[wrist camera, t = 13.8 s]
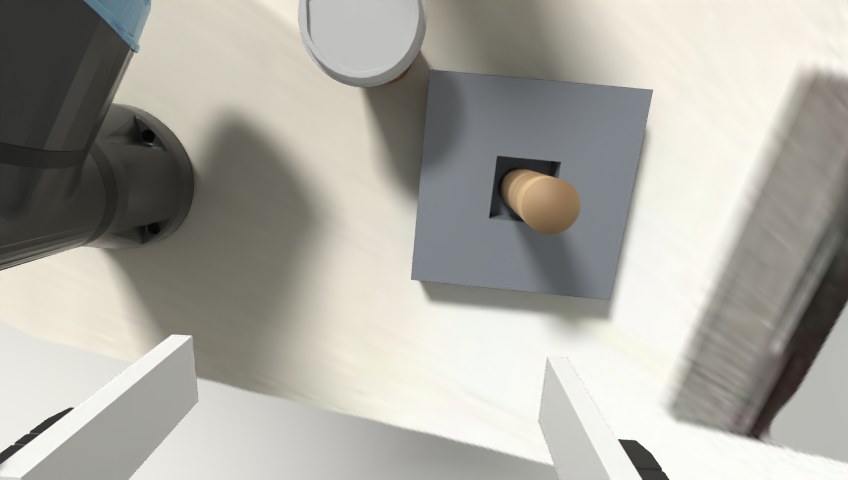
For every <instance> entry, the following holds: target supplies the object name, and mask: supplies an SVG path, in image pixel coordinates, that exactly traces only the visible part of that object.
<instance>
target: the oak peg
mask: <svg viewBox="0 0 848 480" xmlns="http://www.w3.org/2000/svg"><path fill="white" fill-rule="evenodd" d="M498 192H499V195H500V197H501V199H502V200H503V201H504V202H505V203H506V204H507V205H508V206H509V207H510V208H511V209H512V210H513V211H515V212H516V213H517V214H518V215H519V216H520V217H521V218H522V219H523V220H524V221H525V222H526V223H527V224H528V225H529V226H530V227H532V228H533V229H534V230H536V231H537V232H539V233H542V234H547V235H553V234H558V233H561V232H563V231H565V230H567V229H568V228H570V227H571V226H572V225H573V224H574V222H575V221H576V219H577V218H578V215H579V213H580V207H581V202H580V197H579V195H578V192H577V191H576V189H575V188H574V187H573V186H572V185H571V184H570V183H568V182H566V181H564V180H561V179H558V178H554V177H551V176H548V175H544V174H541V173H538V172H534V171H531V170H528V169H525V168H518V167H517V168H512V169H510V170H508V171H506V172H505V173H504V174H503V175H502V176H501V178H500V180H499V183H498Z"/></svg>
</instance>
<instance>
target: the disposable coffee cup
mask: <svg viewBox="0 0 848 480" xmlns="http://www.w3.org/2000/svg"><path fill="white" fill-rule="evenodd" d="M298 22H299V28H300V34H301V37H302V40H303V43H304V45H305V48H306V50H307V52H308V53H309V55H310V57H311V58H312V60H313V61H314V62H315V63H316V65H317V66H318V67H319V68H320V69H321V70H322V71H323V72H325V73H326V74H327V75H328V76H330V77H331V78H333V79H335V80H337V81H339V82H341V83H343V84H346V85H350V86H355V87H373V86H378V85H381V84H388V83H392V82H395V81H397V80H399V79H400V78H402V77H403V76H404V75H405V74H406V73H407V71H408V70H409V68H410V66H411V64H412V62H413V60H414V59H415V57H416V56H417V54H418V52H419V50H420V48H421V45H422V42H423V39H424V35H425V30H426V7H425V1H424V0H300V2H299V9H298Z"/></svg>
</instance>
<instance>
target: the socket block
mask: <svg viewBox="0 0 848 480" xmlns="http://www.w3.org/2000/svg"><path fill="white" fill-rule="evenodd" d="M652 93H653V90H650V89H638V88H627V87H616V86H605V85H594V84H583V83H572V82H561V81H550V80H539V79H528V78H516V77H505V76H494V75H483V74H472V73H461V72H450V71H439V70H430V72H429V83H428V94H427V106H426V117H425V128H424V139H423V151H422V162H421V173H420V184H419V196H418V207H417V218H416V229H415V240H414V252H413V263H412V274H411V280H419V281H429V282H438V283H448V284H458V285H468V286H477V287H487V288H497V289H507V290H516V291H526V292H536V293H546V294H555V295H565V296H575V297H585V298H595V299H604V300H610V297H611V292H612V287H613V282H614V277H615V272H616V267H617V263H618V258H619V253H620V248H621V243H622V238H623V234H624V229H625V224H626V219H627V214H628V209H629V204H630V200H631V195H632V190H633V185H634V180H635V175H636V170H637V166H638V161H639V156H640V151H641V146H642V141H643V137H644V132H645V127H646V122H647V117H648V112H649V107H650V103H651V98H652ZM517 167H518V168H525V169H528V170H531V171H534V172H538V173H541V174H544V175H548V176H551V177H554V178H558V179H561V180H564V181H566V182H568V183H570V184H571V185H572V186H573V187H574V188H575V189H576V191H577V192H578V195H579V197H580V202H581V207H580V213H579V215H578V218H577V219H576V221H575V222H574V224H573V225H572V226H571V227H570V228H568V229H567V230H565V231H563V232H561V233H558V234H553V235H547V234H542V233H539V232H537V231H536V230H534V229H533V228H532V227H530V226H529V225H528V224H527V223H526V222H525V221H524V220H523V219H522V218H521V217H520V216H519V215H518V214H517V213H516V212H515V211H513V210H512V209H511V208H510V207H509V206H508V205H507V204H506V203H505V202H504V201H503V200H502V199H501V197H500V195H499V192H498V183H499V180H500V178H501V176H502V175H503V174H504V173H505V172H506V171H508V170H510V169H512V168H517Z"/></svg>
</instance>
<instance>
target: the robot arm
mask: <svg viewBox="0 0 848 480" xmlns="http://www.w3.org/2000/svg"><path fill="white" fill-rule="evenodd" d="M150 9H151V0H0V271H1V270H4V269H7V268H11V267H14V266H17V265H21V264H24V263H27V262H30V261H34V260H37V259H40V258H44V257H47V256H50V255H54V254H57V253H60V252H64V251H67V250H70V249H73V248H77V247H80V246H84V247H98V248H111V249H131V248H137V247H141V246H145V245H147V244H150V243H153V242H156V241H159V240H161V239H163V238H165V237H167V236H168V235H170V234H171V233H172V232H174V231H175V230H176V229H177V228H178V227H179V226H180V224H181V223H182V222H183V220H184V219H185V217H186V215H187V213H188V211H189V208H190V205H191V202H192V197H193V175H192V170H191V166H190V163H189V160H188V157H187V155H186V153H185V151H184V149H183V147H182V145H181V143H180V142H179V140H178V139H177V138H176V136H175V135H174V134H173V133H172V132H171V130H170V129H169V128H168V127H167V126H166V125H165V124H163V123H162V122H161V121H160V120H158V119H157V118H156V117H154V116H152V115H151V114H149V113H147V112H145V111H143V110H141V109H138V108H136V107H132V106H128V105H123V104H115V103H112V101H113V99H114V97H115V94H116V92H117V90H118V88H119V85H120V83H121V81H122V79H123V77H124V74H125V72H126V70H127V68H128V65H129V63H130V61H131V59H132V57H133V54H134V52H135V53H138V51H139V45H138V41H139V38H140V36H141V33H142V30H143V28H144V25H145V22H146V20H147V17H148V14H149V12H150ZM197 402H198V392H197V381H196V369H195V358H194V347H193V336H190V335H173V334H172V335H171V336H169V337H168V338H167V339H165V340H164V341H163V342H161V343H160V344H159V345H157V346H156V347H155V348H153V349H152V350H151V351H149V352H148V353H147V354H146V355H144V356H143V357H142V358H140V359H139V360H138V361H136V362H135V363H134V364H132V365H131V366H130V367H128V368H127V369H126V370H124V371H123V372H122V373H120V374H119V375H118V376H117V377H115V378H114V379H113V380H111V381H110V382H109V383H107V384H106V385H105V386H103V387H102V388H101V389H100V390H98V391H97V392H95V393H94V394H93V395H92V396H90V397H89V398H88V399H86V400H85V401H84V402H83V403H81V404H80V405H78V406H77V407H76V408H68V409H66V410H64V411H62V412H60V413H58V414H56V415H54V416H52V417H50V418H48V419H47V420H45V421H44V422H42V423H41V424H40V425H38V426H37V427H36V428H34V429H33V430H31V431H30V433H29V434H26V435H25V436H23V437H22V438H21V439H20V440H18V441H16V442H15V445H11V446H10V447H8V448H7V449H6V450H4V451H3V452H1V453H0V480H128V479H129V478H130V477H131V476H132V475H133V474H134V473H135V472H136V470H137V469H138V468H139V467H140V466H141V465H142V464H143V463H144V461H145V460H146V459H147V458H148V457H149V456H150V455H151V453H152V452H153V451H154V450H155V449H156V448H157V447H158V446H159V445H160V443H161V442H162V441H163V440H164V439H165V438H166V437H167V435H168V434H169V433H170V432H171V431H172V430H173V429H174V428H175V426H176V425H177V424H178V423H179V422H180V421H181V420H182V419H183V417H184V416H185V415H186V414H187V413H188V412H189V411H190V410H191V408H192V407H193V406H194V405H195V404H196V403H197ZM538 422H539V425H540V427H541V430H542V433H543V435H544V438H545V441H546V444H547V446H548V449H549V452H550V454H551V457H552V460H553V463H554V465H555V468H556V471H557V473H558V476H559V479H560V480H669V478H668V477H667V476H666V474H665V473H664V472H662V468H661V467H660V465H659V464H658V462H657V461H656V460H655V458H654V457H653V455H652V454H651V453H650V452H649V451H648V450H646V449H645V448H644V447H643V446H642V445H640V444H639V443H638V442H637V441H636V440H621V439H617V437H616V436H615V434H614V433H613V431H612V429H611V428H610V426H609V424H608V423H607V421H606V419H605V418H604V416H603V414H602V413H601V411H600V409H599V408H598V406H597V405H596V403H595V401H594V400H593V398H592V396H591V395H590V393H589V391H588V390H587V388H586V386H585V385H584V383H583V382H582V380H581V378H580V377H579V375H578V373H577V372H576V370H575V368H574V367H573V365H572V363H571V362H570V360H569V358H565V357H548V356H547V361H546V369H545V376H544V383H543V390H542V398H541V405H540V412H539V420H538Z"/></svg>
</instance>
